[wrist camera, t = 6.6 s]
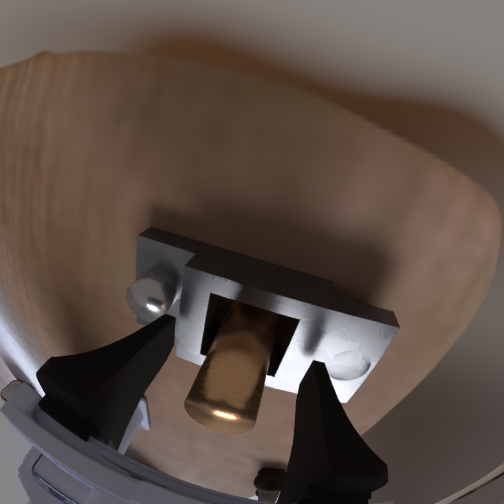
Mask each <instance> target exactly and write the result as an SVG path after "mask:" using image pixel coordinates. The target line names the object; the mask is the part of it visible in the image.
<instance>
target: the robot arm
mask: <svg viewBox="0 0 504 504" xmlns="http://www.w3.org/2000/svg"><path fill="white" fill-rule="evenodd" d="M175 324H176V317H173V316H170V315H168V314H163V315H162V316H160V317H159V318H157V319H156V320H154V321H153V322H151V323H149V324H148V325H146V326H145V327H143V328H141V329H140V330H138V331H136V332H134V333H133V334H131V335H129V336H127V337H125V338H123V339H121V340H119V341H117V342H114V343H112V344H110V345H107V346H104V347H102V348H99V349H95V350H92V351H89V352H85V353H80V354H75V355H69V356H59V357H51V358H50V359H49V360H48V361H46V363H45V364H44V365H43V366H42V367H41V368H40V369H39V370H38V371H37V372H36V377H37V379H38V382H39V383H40V385H41V387H42V389H43V391H44V392H45V394H46V395H45V396H44V397H43V398H42V397H41V396H40V394H39V393H37V392H36V391H35V390H34V389H33V388H32V387H31V386H29V385H28V384H27V383H26V382H24V383H23V384H22V385H21V386H20V387H19V388H18V389H17V390H16V392H15V393H14V394H13V395H12V396H11V397H10V398H9V399H8V401H7V402H6V403H5V404H4V405H3V406H2V408H1V409H0V411H1V413H2V414H3V415H4V416H5V418H6V419H7V420H8V421H9V422H10V423H11V424H12V426H13V427H14V428H15V429H16V430H17V431H18V432H19V433H20V434H21V435H22V436H23V437H24V438H25V439H26V440H27V441H28V442H30V443H31V444H32V445H33V447H32V448H31V450H30V451H29V452H28V454H27V455H26V456H25V458H24V460H23V463H22V464H21V466H20V467H19V469H18V471H19V474H18V476H19V479H20V481H21V483H22V485H23V487H24V489H25V491H26V493H27V495H28V497H29V499H30V501H29V502H28V504H74V503H72V502H71V501H73V502H75V503H76V504H368V500H369V499H371V492H373V491H375V490H377V489H379V488H381V487H383V486H384V485H386V483H387V482H388V468H387V465H386V463H384V462H383V461H382V460H381V459H380V458H379V457H378V456H377V455H376V454H375V453H374V452H373V451H372V450H371V449H370V448H369V447H368V446H367V444H366V443H365V442H364V441H363V439H362V438H361V437H360V435H359V434H358V433H357V431H356V430H355V428H354V427H353V425H352V424H351V422H350V420H349V419H348V417H347V415H346V413H345V411H344V409H343V407H342V405H341V403H340V401H339V399H338V396H337V394H336V391H335V389H334V387H333V384H332V381H331V379H330V376H329V373H328V370H327V367H326V365H325V363H324V362H320V361H316V360H313V361H312V363H311V365H310V366H309V368H308V370H307V372H306V373H305V375H304V377H303V379H302V380H301V382H300V384H299V389H298V394H297V399H296V411H295V426H294V438H293V445H292V450H291V454H290V459H289V463H288V467H287V471H286V475H285V478H284V482H283V485H282V488H281V491H280V495H279V497H278V500H277V503H269V502H263V501H258V500H252V499H247V498H243V497H238V496H234V495H230V494H226V493H222V492H218V491H214V490H211V489H208V488H204V487H201V486H198V485H195V484H192V483H189V482H186V481H183V480H180V479H178V478H175V477H172V476H170V475H167V474H165V473H162V472H160V471H157V470H155V469H153V468H150V467H148V466H146V465H144V464H142V463H140V462H137V461H135V460H133V459H131V458H129V457H127V456H125V455H124V453H125V451H126V450H127V448H128V446H129V444H130V442H131V441H132V439H133V437H134V435H135V434H136V432H137V430H138V428H139V427H142V428H144V429H146V430H149V429H150V424H149V418H148V411H147V403H146V400H145V399H144V398H142V396H143V394H144V393H145V391H146V389H147V388H148V386H149V385H150V384H151V382H152V381H153V379H154V378H155V376H156V375H157V373H158V372H159V370H160V369H161V367H162V366H163V365H164V363H165V362H166V360H167V358H168V356H169V354H170V352H171V350H172V348H173V346H174V338H175ZM127 472H128V473H127ZM129 473H130V474H132V475H134V476H136V477H138V478H140V479H142V480H141V481H140V480H137V479H135V478H133V477H130V474H129ZM36 475H37V476H38V477H39V478H41V479H42V480H43V481H44V482H46V483H47V484H48V485H50V486H51V487H52V488H54V489H55V490H57V491H58V492H59V493H61V494H62V495H64V496H65V497H67V498H68V499H70V500H71V501H69V500H68V499H66V498H65V497H63V496H62V495H60V494H59V493H57V492H56V491H54V490H53V489H52V488H50V487H49V486H48V485H46V484H45V483H44V482H43V481H41V480H40V479H39V478H38V477H37V476H36ZM371 504H393V502H392V501H389V502H379V503H371Z"/></svg>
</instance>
